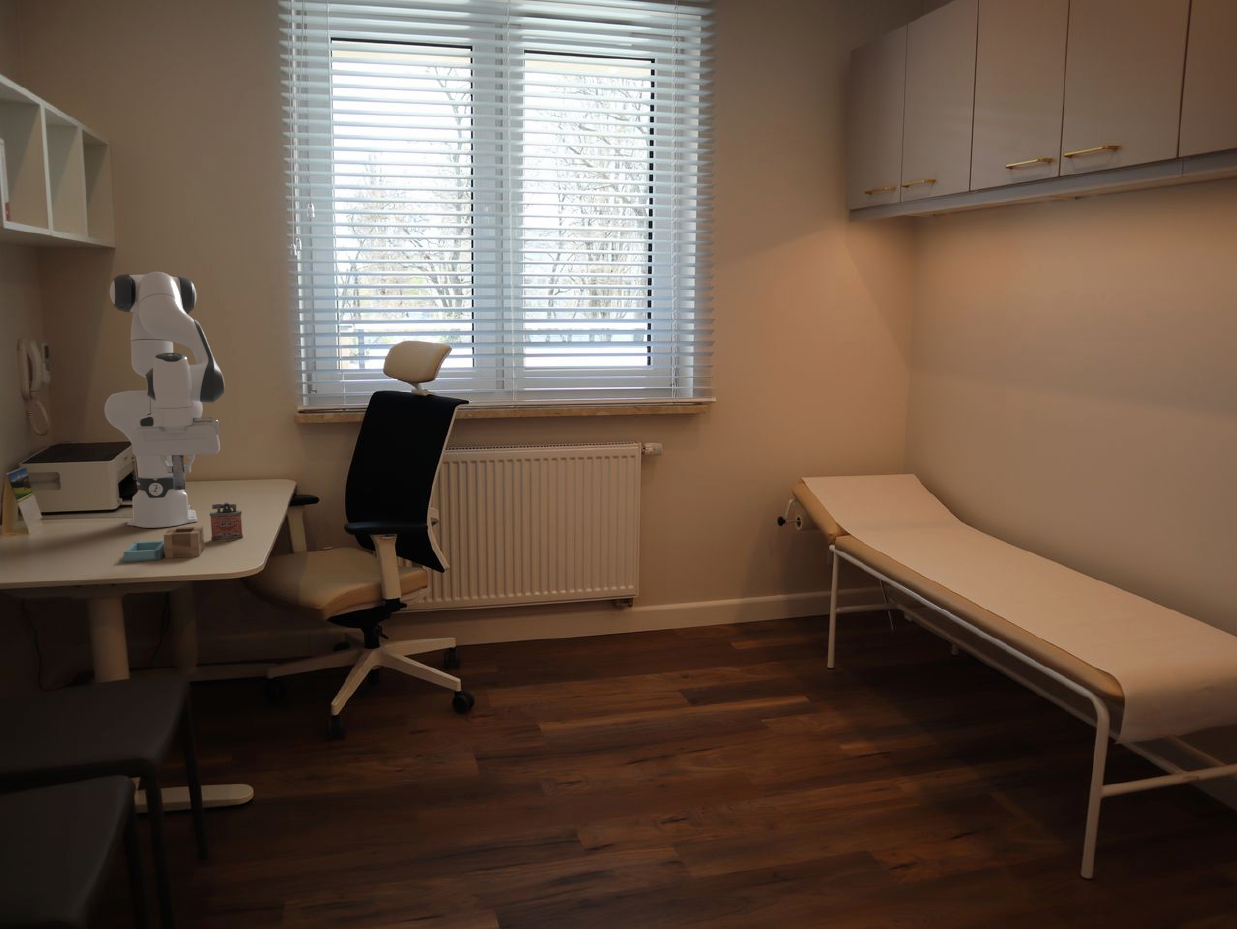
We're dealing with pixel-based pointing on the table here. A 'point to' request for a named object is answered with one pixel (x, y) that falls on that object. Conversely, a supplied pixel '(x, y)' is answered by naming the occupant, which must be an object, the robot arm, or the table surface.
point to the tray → (145, 551)
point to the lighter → (226, 522)
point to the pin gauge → (178, 472)
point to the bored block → (184, 542)
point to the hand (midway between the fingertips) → (178, 472)
